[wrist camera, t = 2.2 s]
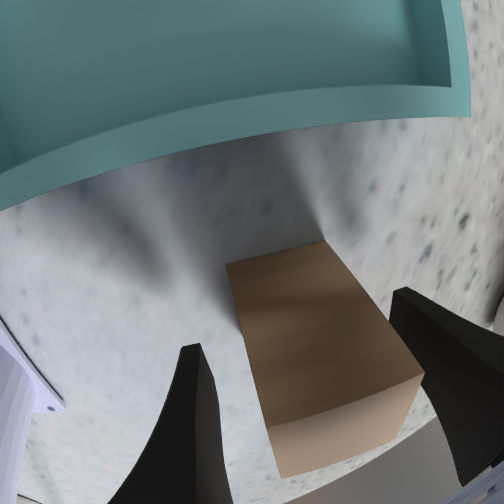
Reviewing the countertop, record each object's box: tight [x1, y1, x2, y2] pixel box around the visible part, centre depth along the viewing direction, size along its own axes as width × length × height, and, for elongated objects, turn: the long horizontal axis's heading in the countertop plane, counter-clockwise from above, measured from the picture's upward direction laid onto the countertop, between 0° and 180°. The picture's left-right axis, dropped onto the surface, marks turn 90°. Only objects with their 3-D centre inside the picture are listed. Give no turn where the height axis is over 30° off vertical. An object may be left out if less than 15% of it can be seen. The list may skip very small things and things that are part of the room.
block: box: [226, 241, 425, 479], centre depth 10 cm, size 4×4×7 cm
